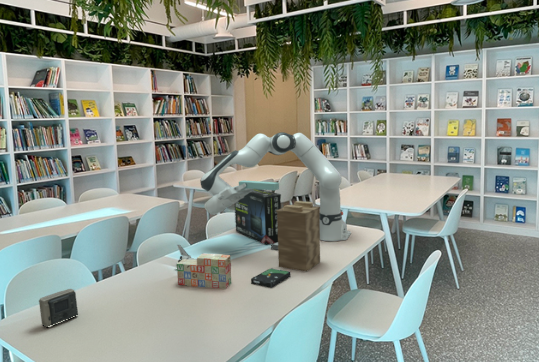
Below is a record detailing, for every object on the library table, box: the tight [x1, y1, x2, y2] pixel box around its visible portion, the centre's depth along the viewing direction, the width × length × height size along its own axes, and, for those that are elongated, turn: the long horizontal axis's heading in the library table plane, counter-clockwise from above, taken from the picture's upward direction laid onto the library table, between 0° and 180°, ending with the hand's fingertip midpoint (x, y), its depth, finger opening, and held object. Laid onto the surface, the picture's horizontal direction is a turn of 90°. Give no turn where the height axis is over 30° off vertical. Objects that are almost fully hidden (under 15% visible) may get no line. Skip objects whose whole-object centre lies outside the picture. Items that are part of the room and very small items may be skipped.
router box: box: [233, 189, 282, 246], centre depth 245 cm, size 36×11×27 cm, turn 32°
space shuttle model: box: [173, 244, 197, 271], centre depth 198 cm, size 16×25×10 cm, turn 65°
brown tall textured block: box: [276, 200, 321, 272], centre depth 196 cm, size 15×15×28 cm
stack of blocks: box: [176, 253, 232, 290], centre depth 177 cm, size 21×6×12 cm, turn 75°
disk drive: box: [250, 267, 291, 289], centre depth 181 cm, size 10×3×15 cm
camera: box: [38, 288, 79, 328], centre depth 148 cm, size 11×6×10 cm, turn 140°
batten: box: [238, 180, 280, 191], centre depth 204 cm, size 4×20×3 cm, turn 58°
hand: (249, 183), depth 207 cm, fingers closed on batten, 4 cm apart
